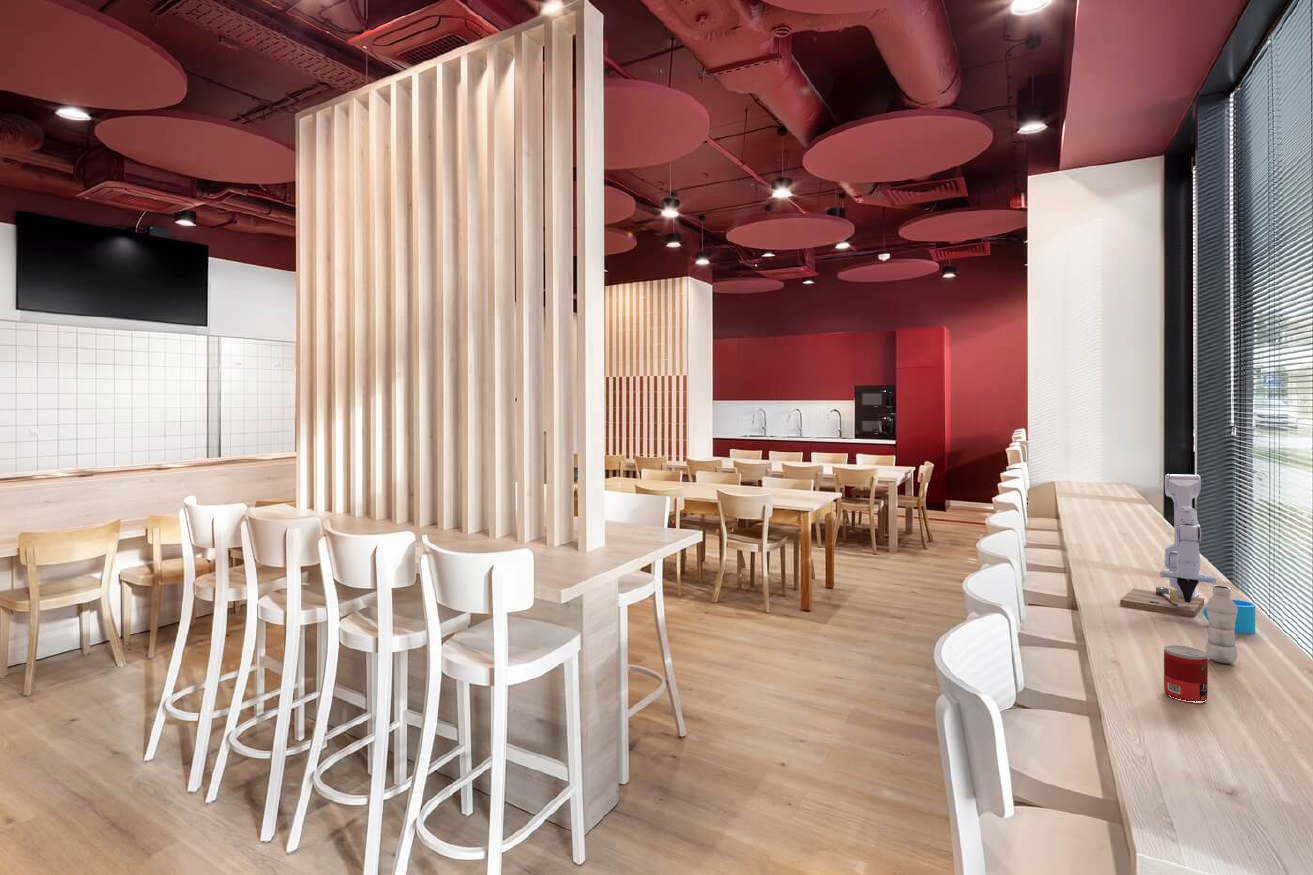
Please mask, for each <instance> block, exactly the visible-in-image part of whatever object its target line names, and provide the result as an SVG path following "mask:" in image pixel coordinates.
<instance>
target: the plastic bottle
mask: <svg viewBox="0 0 1313 875" xmlns="http://www.w3.org/2000/svg"><path fill="white" fill-rule="evenodd" d="M1211 594H1213V595H1212V596H1211V597H1209V599H1208V600H1207V601H1206V603H1205V607H1206V609H1207V616H1208V620H1207V622H1208V632H1207V641H1206V644H1205V653H1207V657H1208V659H1210V661H1213V662H1216V663H1222V664H1234V663H1235V662H1236V661H1237V659H1238V656H1239V655H1238V649H1237V646H1236V639H1235V638H1236V635H1235V630H1234V629H1235V621H1236V616H1237V610H1238V609H1237V606H1236V605H1235V603H1234V602H1233V601H1232V598H1231V597H1230V596H1232V593H1231V588H1230V587H1229V586H1224V585H1212V591H1211Z"/></svg>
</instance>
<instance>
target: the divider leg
mask: <svg viewBox="0 0 1313 875" xmlns="http://www.w3.org/2000/svg"><path fill="white" fill-rule="evenodd" d="M1155 591H1156V594H1158V595H1163V596H1164V597H1165V598H1167V599H1168V600H1169V601H1171V602H1172V603H1173V604H1175V605H1178V604H1179V601H1178V590H1177V589H1176V588H1174V587H1170V595H1169V588H1168V587H1164V586H1163V587H1162V586H1156V587H1155Z"/></svg>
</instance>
